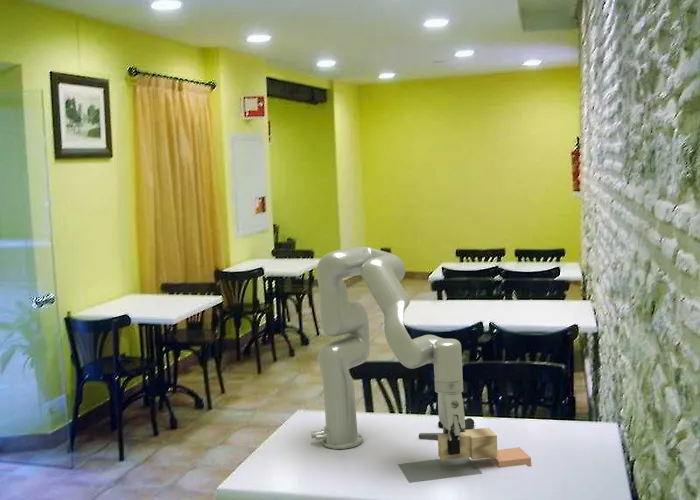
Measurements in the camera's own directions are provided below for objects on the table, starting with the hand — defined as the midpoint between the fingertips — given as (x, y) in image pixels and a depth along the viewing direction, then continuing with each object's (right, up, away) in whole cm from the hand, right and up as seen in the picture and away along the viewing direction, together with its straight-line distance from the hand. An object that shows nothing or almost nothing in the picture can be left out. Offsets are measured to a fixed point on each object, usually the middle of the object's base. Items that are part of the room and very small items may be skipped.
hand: (451, 450), depth 201 cm
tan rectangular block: (+12, -3, +2) cm, 12 cm away
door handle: (+2, -3, +26) cm, 27 cm away
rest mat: (-3, -5, 0) cm, 6 cm away
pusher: (+5, -1, +1) cm, 5 cm away
